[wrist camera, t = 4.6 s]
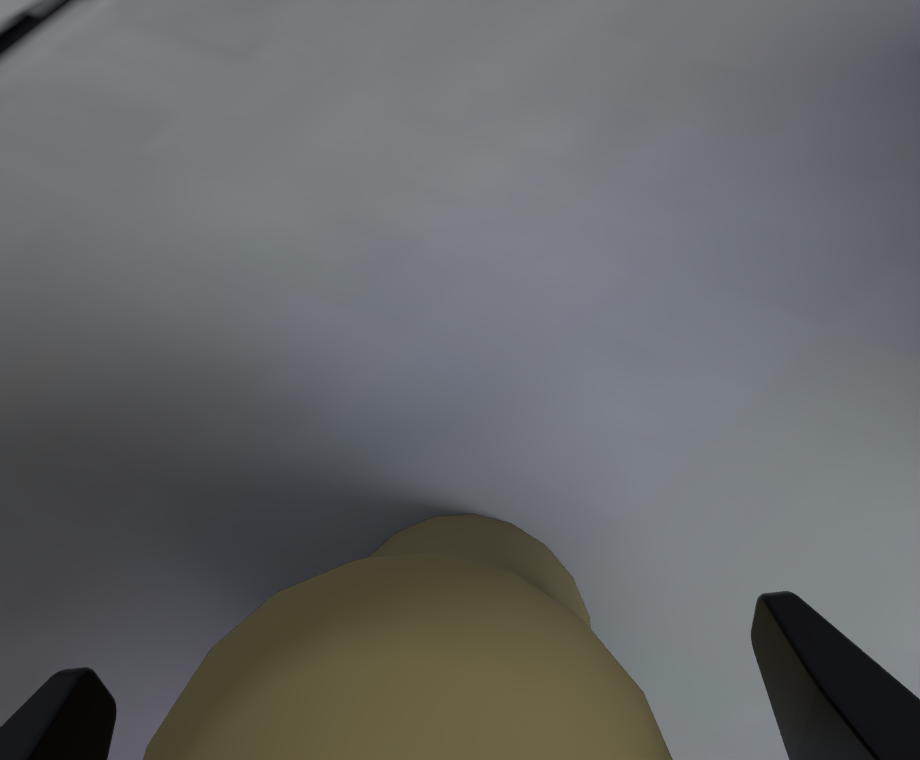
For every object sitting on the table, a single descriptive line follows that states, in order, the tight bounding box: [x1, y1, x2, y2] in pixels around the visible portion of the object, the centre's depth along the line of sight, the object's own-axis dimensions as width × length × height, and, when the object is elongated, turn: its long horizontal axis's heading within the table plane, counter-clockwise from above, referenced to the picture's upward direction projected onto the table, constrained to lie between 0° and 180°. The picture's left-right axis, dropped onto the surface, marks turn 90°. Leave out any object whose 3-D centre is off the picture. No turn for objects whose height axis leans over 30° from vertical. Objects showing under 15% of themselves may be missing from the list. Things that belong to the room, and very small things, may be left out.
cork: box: [143, 514, 672, 760], centre depth 10 cm, size 6×6×11 cm
